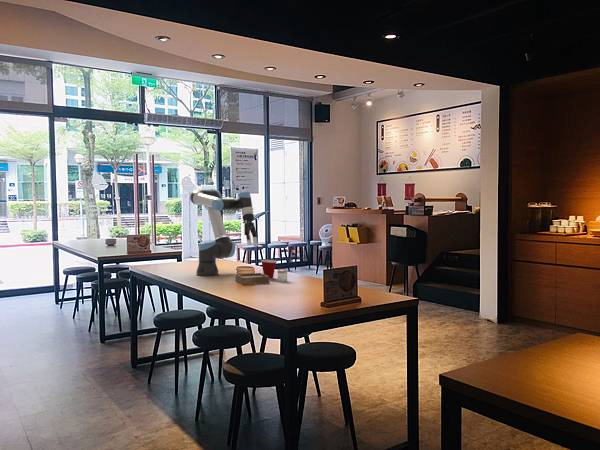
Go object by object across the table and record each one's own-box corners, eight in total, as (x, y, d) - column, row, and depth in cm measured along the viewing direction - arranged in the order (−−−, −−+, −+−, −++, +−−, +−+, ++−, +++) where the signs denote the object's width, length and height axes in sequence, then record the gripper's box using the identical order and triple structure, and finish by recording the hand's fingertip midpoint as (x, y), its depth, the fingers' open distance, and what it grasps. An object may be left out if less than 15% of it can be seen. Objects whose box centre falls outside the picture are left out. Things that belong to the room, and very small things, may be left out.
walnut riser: (235, 280, 327) (235, 274, 327) (260, 279, 334) (260, 272, 334) (243, 285, 312) (242, 278, 311) (269, 283, 318) (269, 276, 318)
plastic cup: (276, 279, 333) (276, 261, 332) (260, 279, 333) (260, 261, 333) (277, 276, 344) (277, 259, 343) (261, 276, 344) (261, 259, 343)
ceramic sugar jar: (276, 280, 328) (276, 269, 328) (285, 280, 331) (285, 269, 330) (279, 282, 322) (279, 271, 322) (289, 281, 324) (289, 270, 324)
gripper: (247, 210, 325) (252, 242, 322) (258, 215, 349) (263, 246, 346) (236, 212, 327) (241, 245, 323) (248, 218, 351) (253, 248, 347)
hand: (252, 245), depth 335 cm, fingers open, 13 cm apart
